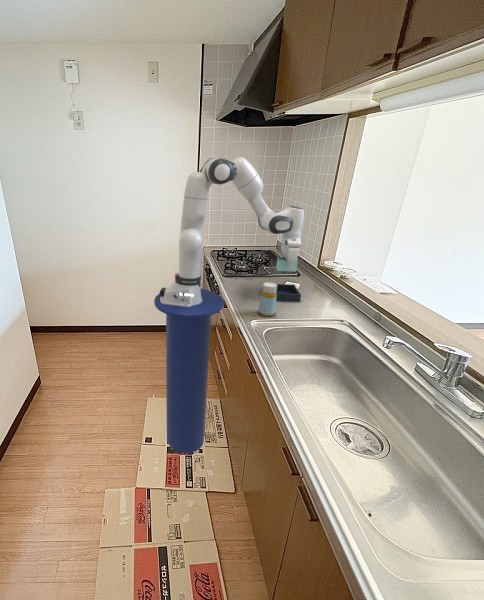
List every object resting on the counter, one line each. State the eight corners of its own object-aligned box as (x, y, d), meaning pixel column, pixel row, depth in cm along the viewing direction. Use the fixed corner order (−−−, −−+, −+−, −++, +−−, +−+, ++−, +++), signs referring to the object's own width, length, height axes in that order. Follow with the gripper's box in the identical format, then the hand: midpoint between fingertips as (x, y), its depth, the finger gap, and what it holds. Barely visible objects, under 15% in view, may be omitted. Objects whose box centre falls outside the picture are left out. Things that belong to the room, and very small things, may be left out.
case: (277, 270, 168) (279, 259, 166) (275, 267, 173) (277, 256, 170) (296, 271, 167) (298, 260, 165) (293, 268, 172) (295, 257, 169)
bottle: (271, 318, 152) (276, 288, 146) (256, 314, 155) (260, 285, 149) (275, 312, 157) (279, 283, 151) (261, 309, 161) (264, 281, 155)
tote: (270, 300, 171) (271, 293, 169) (266, 290, 184) (267, 283, 183) (299, 301, 169) (301, 294, 167) (293, 291, 182) (294, 284, 181)
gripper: (280, 234, 173) (276, 259, 179) (288, 244, 155) (284, 271, 160) (292, 235, 172) (288, 260, 178) (302, 244, 154) (297, 272, 159)
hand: (286, 265), depth 169 cm, fingers closed on case, 5 cm apart
